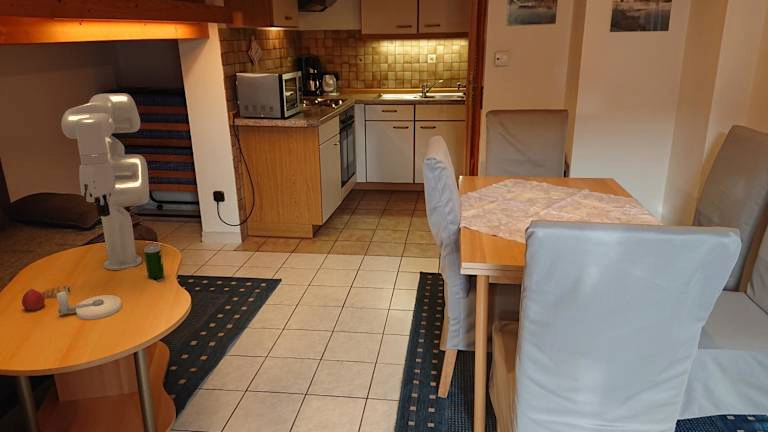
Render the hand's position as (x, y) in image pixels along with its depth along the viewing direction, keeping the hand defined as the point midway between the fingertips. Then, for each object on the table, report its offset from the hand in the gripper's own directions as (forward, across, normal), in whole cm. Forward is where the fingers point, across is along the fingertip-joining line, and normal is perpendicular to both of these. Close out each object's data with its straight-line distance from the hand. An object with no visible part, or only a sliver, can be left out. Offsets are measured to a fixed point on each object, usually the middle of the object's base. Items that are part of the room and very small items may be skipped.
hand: (104, 215), depth 171 cm
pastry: (+27, +10, -14) cm, 32 cm away
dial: (+24, +16, +5) cm, 30 cm away
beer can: (+27, -11, +7) cm, 30 cm away
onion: (+26, +19, -13) cm, 35 cm away
